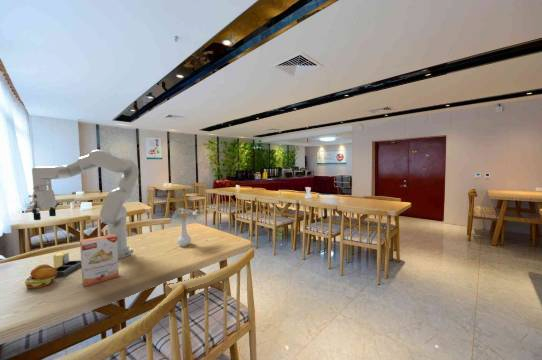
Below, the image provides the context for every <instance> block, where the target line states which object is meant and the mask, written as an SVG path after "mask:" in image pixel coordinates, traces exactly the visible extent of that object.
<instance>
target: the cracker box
mask: <svg viewBox="0 0 542 360" xmlns="http://www.w3.org/2000/svg"><path fill="white" fill-rule="evenodd" d="M79 248H80V260H81V267H80V268H81V281H82V284H83V287H87V286H88V287H89V286H91V285H94V284H98V283H101V282H104V281H108V280H112V279H115V278H119V276H120V274H119V259H118V247H117V236H116V235H114V234H112V235H108V234H106V235H102V236H96V237H90V238H86V239H80V240H79Z"/></svg>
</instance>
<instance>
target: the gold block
mask: <svg viewBox="0 0 542 360" xmlns="http://www.w3.org/2000/svg"><path fill="white" fill-rule="evenodd" d="M52 259H53V268H58V267H59V266H61V265H63V264H65V263H67V262H69V261H70V254H69V251H68V252H66V251H65V252H59V253H56V254H53V256H52Z"/></svg>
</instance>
